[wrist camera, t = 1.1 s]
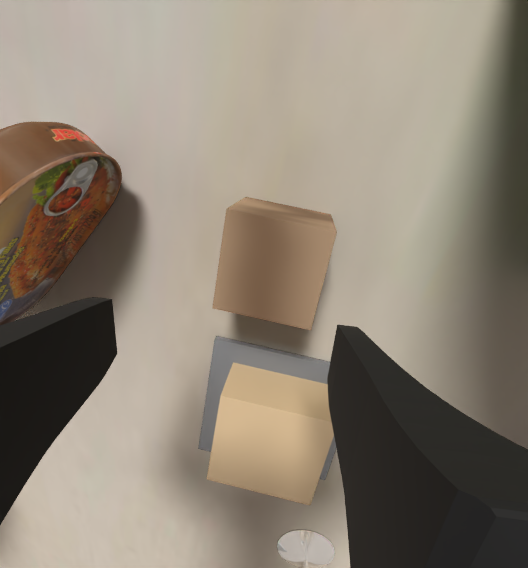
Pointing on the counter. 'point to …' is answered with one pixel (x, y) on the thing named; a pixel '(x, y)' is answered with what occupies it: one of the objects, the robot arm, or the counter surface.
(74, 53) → the counter surface
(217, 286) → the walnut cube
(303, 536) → the wineglass
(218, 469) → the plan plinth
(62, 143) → the tin
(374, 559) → the robot arm
